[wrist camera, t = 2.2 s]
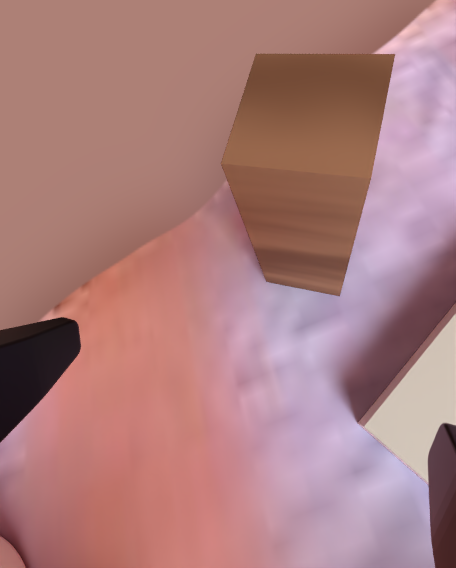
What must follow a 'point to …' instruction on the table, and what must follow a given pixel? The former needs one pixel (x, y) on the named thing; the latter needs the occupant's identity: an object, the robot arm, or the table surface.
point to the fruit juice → (9, 555)
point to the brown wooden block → (306, 160)
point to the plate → (418, 400)
